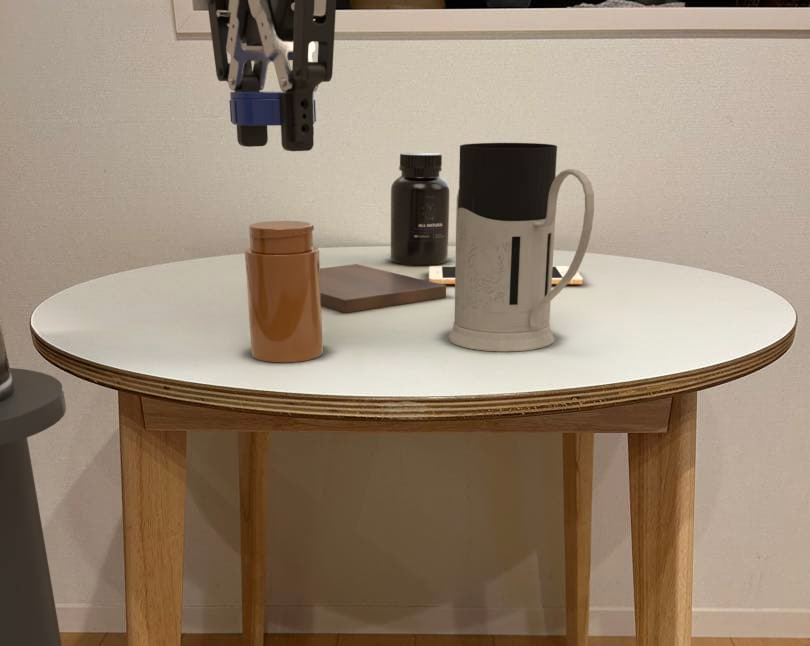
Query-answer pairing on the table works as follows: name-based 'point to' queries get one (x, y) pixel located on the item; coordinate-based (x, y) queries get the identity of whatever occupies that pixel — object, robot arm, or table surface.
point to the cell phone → (448, 275)
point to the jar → (284, 292)
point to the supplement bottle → (420, 211)
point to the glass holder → (509, 245)
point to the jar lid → (258, 108)
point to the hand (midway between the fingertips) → (274, 147)
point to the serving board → (372, 288)
